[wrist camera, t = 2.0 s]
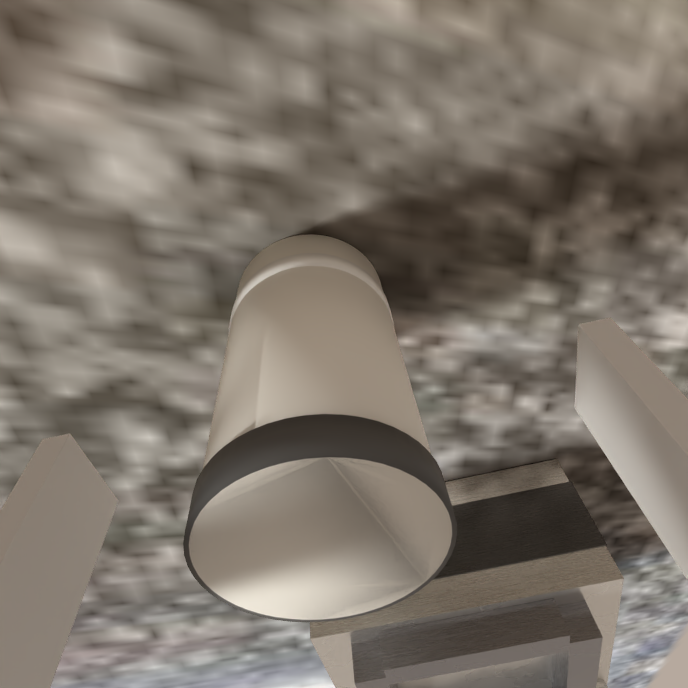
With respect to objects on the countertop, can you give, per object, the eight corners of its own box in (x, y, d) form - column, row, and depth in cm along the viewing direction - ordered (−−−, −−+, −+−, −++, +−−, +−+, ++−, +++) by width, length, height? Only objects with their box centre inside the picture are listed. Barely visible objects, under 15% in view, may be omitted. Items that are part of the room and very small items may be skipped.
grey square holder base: (349, 616, 31) (363, 772, 24) (306, 510, 25) (309, 678, 19) (554, 576, 30) (621, 727, 24) (557, 457, 24) (646, 614, 18)
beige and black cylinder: (261, 377, 20) (237, 640, 12) (211, 252, 17) (135, 490, 9) (396, 346, 20) (467, 595, 12) (370, 214, 17) (441, 424, 9)
